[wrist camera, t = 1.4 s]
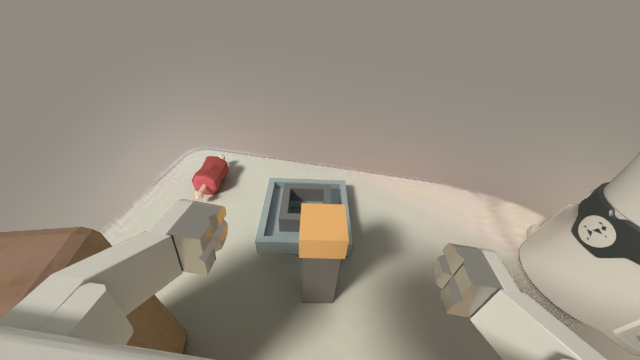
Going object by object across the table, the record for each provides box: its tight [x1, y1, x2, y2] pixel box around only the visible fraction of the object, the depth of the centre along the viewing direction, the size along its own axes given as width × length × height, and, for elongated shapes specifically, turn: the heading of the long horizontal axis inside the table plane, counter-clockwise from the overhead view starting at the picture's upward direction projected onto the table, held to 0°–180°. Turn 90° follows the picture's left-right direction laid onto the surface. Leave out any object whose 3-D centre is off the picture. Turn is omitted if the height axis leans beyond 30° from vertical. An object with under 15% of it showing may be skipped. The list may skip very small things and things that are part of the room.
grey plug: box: [299, 203, 349, 303], centre depth 29 cm, size 5×5×14 cm
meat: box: [192, 154, 229, 200], centre depth 46 cm, size 12×5×5 cm, turn 177°
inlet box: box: [255, 178, 353, 256], centre depth 41 cm, size 14×14×4 cm
